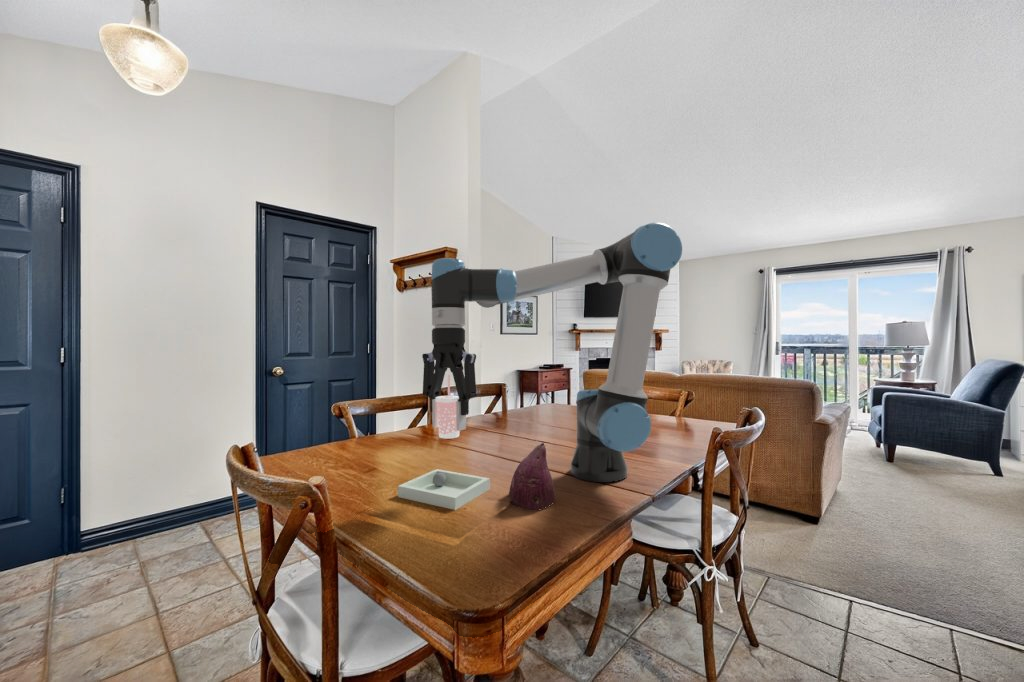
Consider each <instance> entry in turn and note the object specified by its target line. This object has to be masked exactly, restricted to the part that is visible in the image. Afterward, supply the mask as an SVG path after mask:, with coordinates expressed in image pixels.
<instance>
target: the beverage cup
mask: <svg viewBox="0 0 1024 682" xmlns="http://www.w3.org/2000/svg"><path fill="white" fill-rule="evenodd" d="M435 399H436V402H437V413H438V427H437V428H438V437H439V438H440V439H445V440H447V439H456V438H459V437H460V432H461V430H460V431H457V430H456V401H458V399H459V396H458V395H456V394H455V395H451V375H449V374H448V375H447V395H440V396H438V397H435Z"/></svg>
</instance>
